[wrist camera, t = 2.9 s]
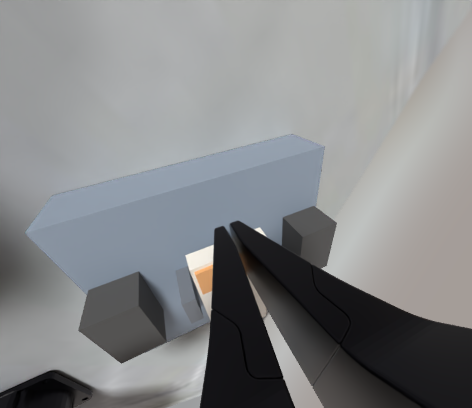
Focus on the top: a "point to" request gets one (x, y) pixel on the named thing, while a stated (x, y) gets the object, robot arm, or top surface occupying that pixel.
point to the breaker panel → (176, 219)
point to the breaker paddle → (203, 272)
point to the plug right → (309, 235)
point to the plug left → (123, 318)
